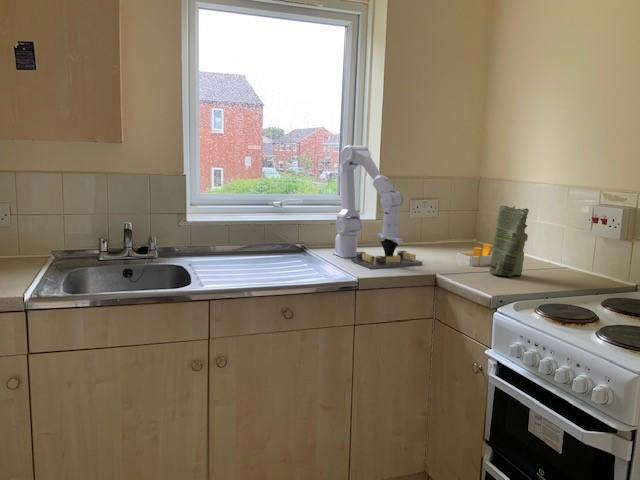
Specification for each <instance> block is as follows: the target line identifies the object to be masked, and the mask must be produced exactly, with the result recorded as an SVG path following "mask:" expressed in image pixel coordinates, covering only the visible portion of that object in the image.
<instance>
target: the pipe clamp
mask: <svg viewBox="0 0 640 480" xmlns="http://www.w3.org/2000/svg"><path fill="white" fill-rule="evenodd" d="M491 251H493V245H492V244H488V243H485V244H483V248H482V247H477V246H475V247H474V248H473V252H474V253H473V257H475V256H478V257H479V263H478V265H479V266H481V265H480V256H489V255H491Z"/></svg>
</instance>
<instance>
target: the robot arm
mask: <svg viewBox="0 0 640 480" xmlns="http://www.w3.org/2000/svg"><path fill="white" fill-rule="evenodd" d="M371 154H372V153H371V151H370V150H369V148H368V147H367V146H366V145H345V146H344V147H343V148H342V149H341V150H340V163H339V179H340V180H339V181H340V182H339V183H340V197H341V198H340V199H341V200H340V201H341V202H340V204H341V207H340V208H341V210H340V212H338V213H337V215H336V222H335V231H336V232H337V235H336V236H335V238H334V239H335V240H334V252H333V253H332V254H333V255H335V256H338V257H340V258H347V259H348V258H356V254H357V252H358V250H357V248H358V235H359V232H360V231H361V230H362V225H363V223H362V220H361V215H360V213H359V212H358V211H357V210H356V195H355V194H356V193H355V170H356V169H357V167H358V166H362V167H363V169H364V170H365V171H366V172H367V174H368V175H369V176H370V178H371V179H372V186H373V187H374V189H375V191H376V192H377V194H378V195H379V196H380V204H381V206H382V212H383V218H382V232H377V239H383V240H381V241H380V244H381V246H382V247H383V250H384V251H383V252H384V256H392V255H394V253H395V250H396V249H397V247H398V245H403V244H404V238H402V237H400V236H399V221H400V220H399V219H400V206H401V205H403V202H404V197H403V195H402V193H401V192H400V191H398V190H396V189H395V187H393V185H392V184H391V182H390V180H389V177H388V176H385V175H383V174H381V173H380V170H379V169H378V167H377V166H376V163H375V162H374V160H373V159H372V155H371Z"/></svg>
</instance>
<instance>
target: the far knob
mask: <svg viewBox="0 0 640 480" xmlns="http://www.w3.org/2000/svg"><path fill="white" fill-rule="evenodd" d="M396 255H399V256H400V258H405V259H408V260H411V261H415V260H417V259H416V258H417V257H416V254H413V253H410V252H409V251H406V250H397V253H396Z"/></svg>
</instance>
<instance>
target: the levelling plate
mask: <svg viewBox="0 0 640 480" xmlns="http://www.w3.org/2000/svg"><path fill="white" fill-rule="evenodd" d="M351 262H352V263H354V264H357V265H359V266H362V267H364V268H366V269H369V270H373V269H385V268H386V269H387V268H388V269H389V268H401V267H413V266H423V261H422V260H419V259H416V260H415V261H411V260H408V259H405V258H400V262H389V263H384V264H380V263H376V256H374V262H368V261H365V260H362V259H357V258H356V257H351Z"/></svg>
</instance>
